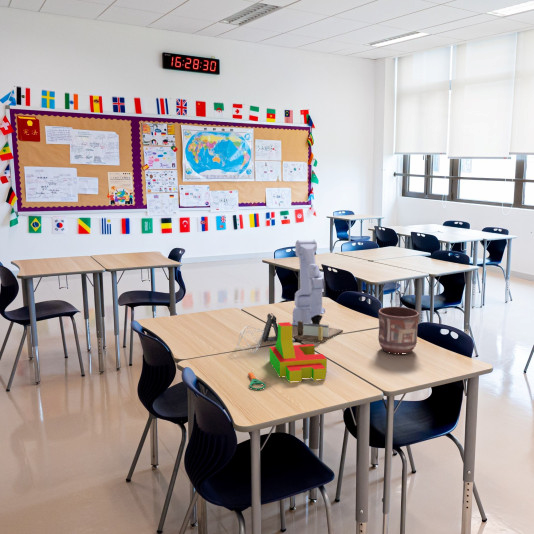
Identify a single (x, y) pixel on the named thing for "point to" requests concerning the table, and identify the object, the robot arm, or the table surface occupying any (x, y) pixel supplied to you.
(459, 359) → the table surface
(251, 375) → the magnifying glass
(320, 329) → the post
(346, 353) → the table surface
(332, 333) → the brown wooden board
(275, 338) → the phone stand
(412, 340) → the pottery
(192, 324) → the table surface
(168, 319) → the table surface
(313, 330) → the panel
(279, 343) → the building blocks toy
